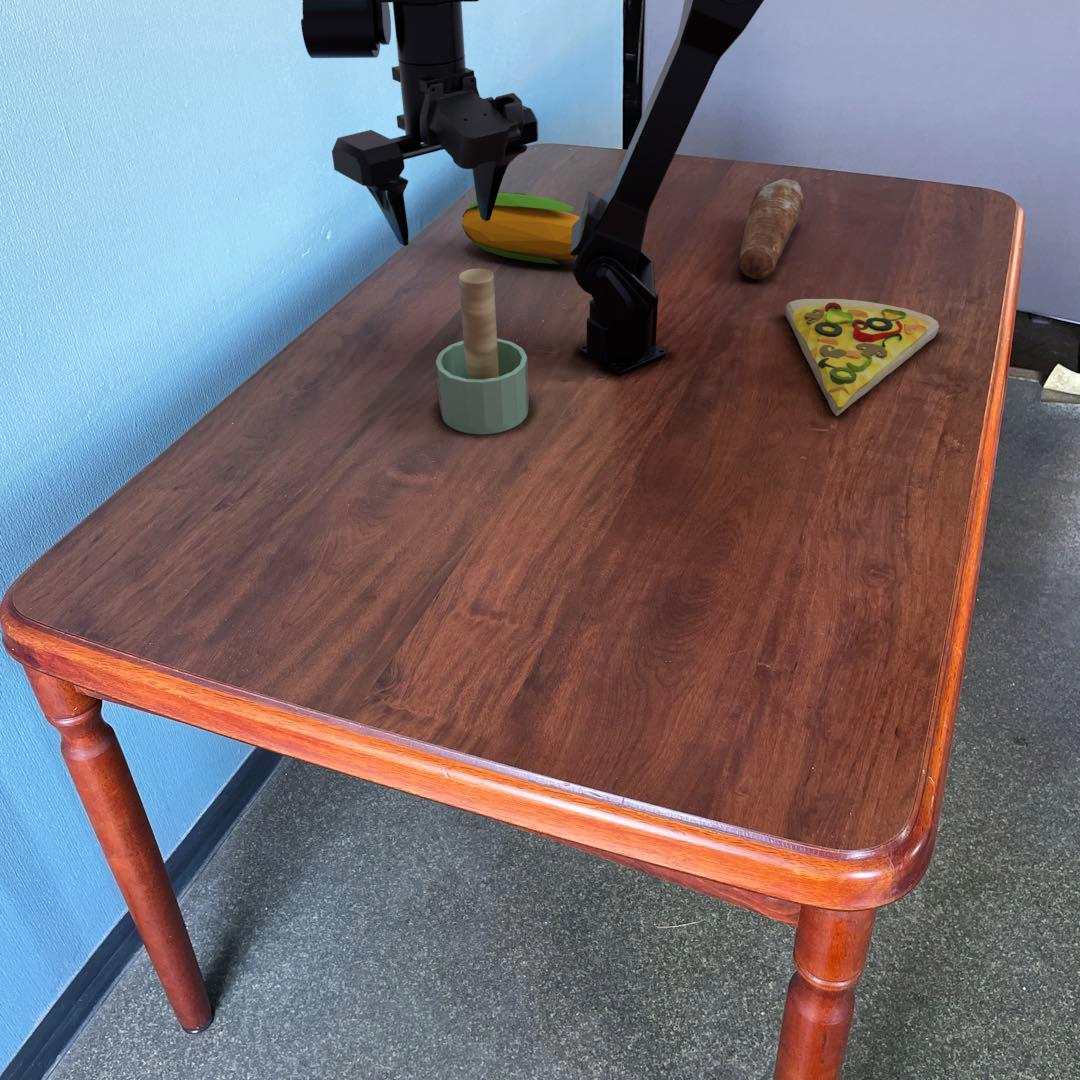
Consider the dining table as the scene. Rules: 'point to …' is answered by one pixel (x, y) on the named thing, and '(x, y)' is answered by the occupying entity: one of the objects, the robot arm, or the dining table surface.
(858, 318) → the pizza slice
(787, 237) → the bread
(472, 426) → the cup
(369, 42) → the robot arm
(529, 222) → the corn
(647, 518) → the dining table surface
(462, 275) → the dowel
